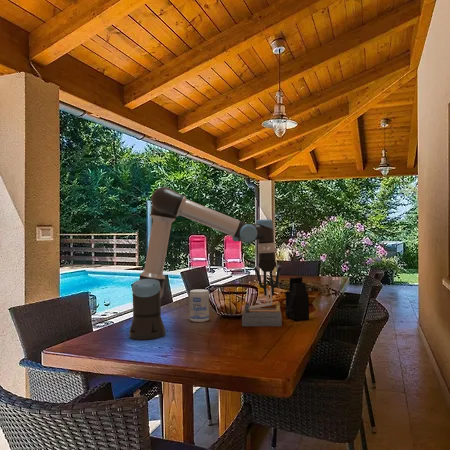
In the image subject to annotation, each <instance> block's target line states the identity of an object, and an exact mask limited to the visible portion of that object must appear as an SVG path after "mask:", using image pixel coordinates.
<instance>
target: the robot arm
mask: <svg viewBox="0 0 450 450" xmlns="http://www.w3.org/2000/svg"><path fill="white" fill-rule="evenodd" d="M150 201H151V211H150V217H151V219H152V224H151V230H150V236H149V241H148V242H149V243H148V247H147V254H146V259H145V265H144V269H143V271H142V272H141V273H140V274H139V279H138V280H136V281H135V280H134V282H133V283H132V288H131V292H132V322H131V324H130V327H129V333H128V335H129V338H130V339H133V340H136V341H137V340H139V341H142V340H144V341H145V340H146V341H147V340H155V339H160V338H162V337H164V336H165V335H166V327H165V325H164V322H163V319H162V314H161V313H162V309H161V306H162V305H161V300H162V299H163V298H162V297H164V291H165V289H164V287H165V281H166V276H165V275H164V270H165V269H164V267H165V262H166V257H167V251H168V246H169V241H170V240H169V239H170V234H171V227H172V223H174V222H175V221H176V219H177V217H179V216H181V217H184V218H186V219H189V220H191V221H194V222H196V223H199V224H201V225H203V226H207V227H209V228H211V229H214V230H216V231H218V232H220V233H221V232H222V233H224V234H226V235H229V236H230V237H231V238H232V241H233V242H239V243H240V242H245V243H252V242H253V241H257V247H258V252H259V253H258V265H257V266H254V268H253V271H254V272H255V274H256V278H257V281H258V282H257V283H258V285H259V288H261V289H263V295H264V296H265V297H266V303H270V302H271V303H272V302H273V296H275V288H278V285H279V277H280V273H281V272H280V271H281V270H282V266H281V265H279V264H277V262H276V254H275V249H276V248H275V238H274V237H275V236H274V235H275V234H274V230H275V229H274V224H273V220H272V219H270V218H266V219H265V218H263V219H257V220H256V223H255V224H253V223H252V224H250V223H246V222H244V221H241V220H240V219H236V218H234V217H231V216H229V215H226V214H224V213H222V212H219V211H217V210H214V209H212V208H210V207H207V206H205V205H202V204H200V203H197V202H195V201H192V200H190V199H187V198H186V195H184V194H181V193H179V192H177V191H176V190H174V189H173V188H170V187H167V186H162V187H161V186H160V187H158V188H156V189H155V190H154V191H153V193H152V194H151V198H150ZM275 268H276V276H275V281H274V276H273V271H274V270H275ZM260 270H261V271H262V272H263V274H262V275H263V282H262V279H261V275H260ZM267 273H269V279H270V287H269V288H268V287H267ZM274 282H275V283H274ZM269 296H270V297H269Z"/></svg>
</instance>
